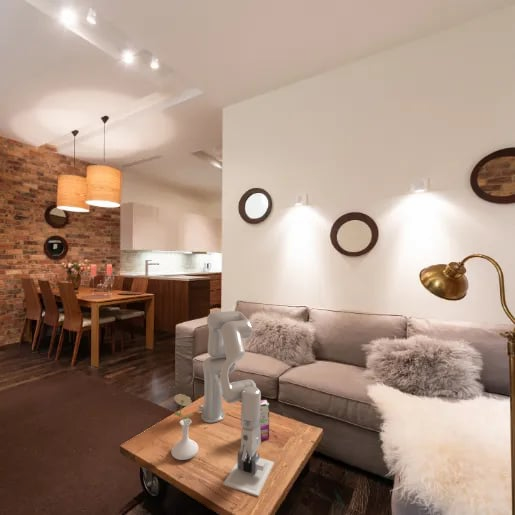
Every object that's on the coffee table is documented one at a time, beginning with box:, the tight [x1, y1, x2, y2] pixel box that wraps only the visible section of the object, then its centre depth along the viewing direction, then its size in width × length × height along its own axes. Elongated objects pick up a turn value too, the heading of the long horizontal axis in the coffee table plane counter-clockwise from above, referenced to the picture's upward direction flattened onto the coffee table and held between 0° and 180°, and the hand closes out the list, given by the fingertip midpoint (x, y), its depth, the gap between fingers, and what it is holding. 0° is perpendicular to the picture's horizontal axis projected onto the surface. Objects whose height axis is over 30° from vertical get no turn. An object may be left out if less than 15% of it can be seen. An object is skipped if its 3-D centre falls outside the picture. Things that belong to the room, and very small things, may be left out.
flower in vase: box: [171, 393, 200, 461], centre depth 124 cm, size 13×11×25 cm
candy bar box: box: [260, 399, 270, 441], centre depth 136 cm, size 11×5×16 cm, turn 105°
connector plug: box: [236, 449, 266, 474], centre depth 113 cm, size 11×4×5 cm, turn 69°
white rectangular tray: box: [222, 457, 275, 497], centre depth 113 cm, size 14×18×1 cm
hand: (250, 466), depth 113 cm, fingers closed on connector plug, 4 cm apart
